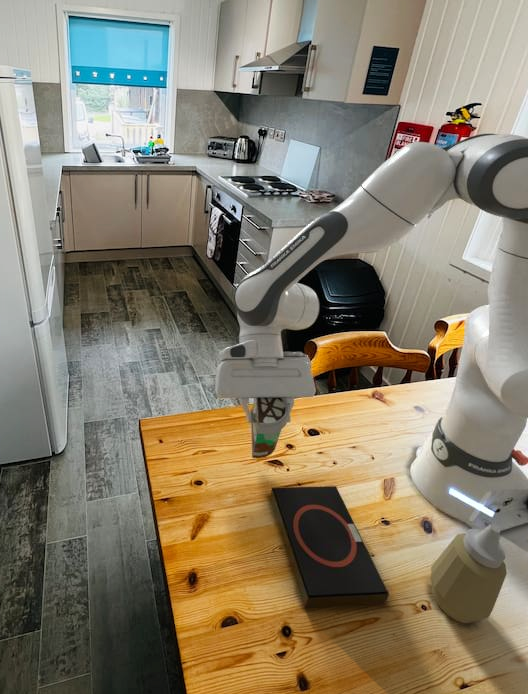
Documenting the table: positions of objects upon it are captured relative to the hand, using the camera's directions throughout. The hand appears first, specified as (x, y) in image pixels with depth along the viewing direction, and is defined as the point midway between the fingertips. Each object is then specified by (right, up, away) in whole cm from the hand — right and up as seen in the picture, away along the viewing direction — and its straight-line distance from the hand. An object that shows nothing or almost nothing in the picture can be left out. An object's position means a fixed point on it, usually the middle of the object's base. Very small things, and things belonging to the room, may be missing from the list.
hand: (268, 422), depth 78 cm
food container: (0, -5, +3) cm, 6 cm away
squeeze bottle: (+26, -22, -15) cm, 37 cm away
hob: (+7, -18, -8) cm, 21 cm away
